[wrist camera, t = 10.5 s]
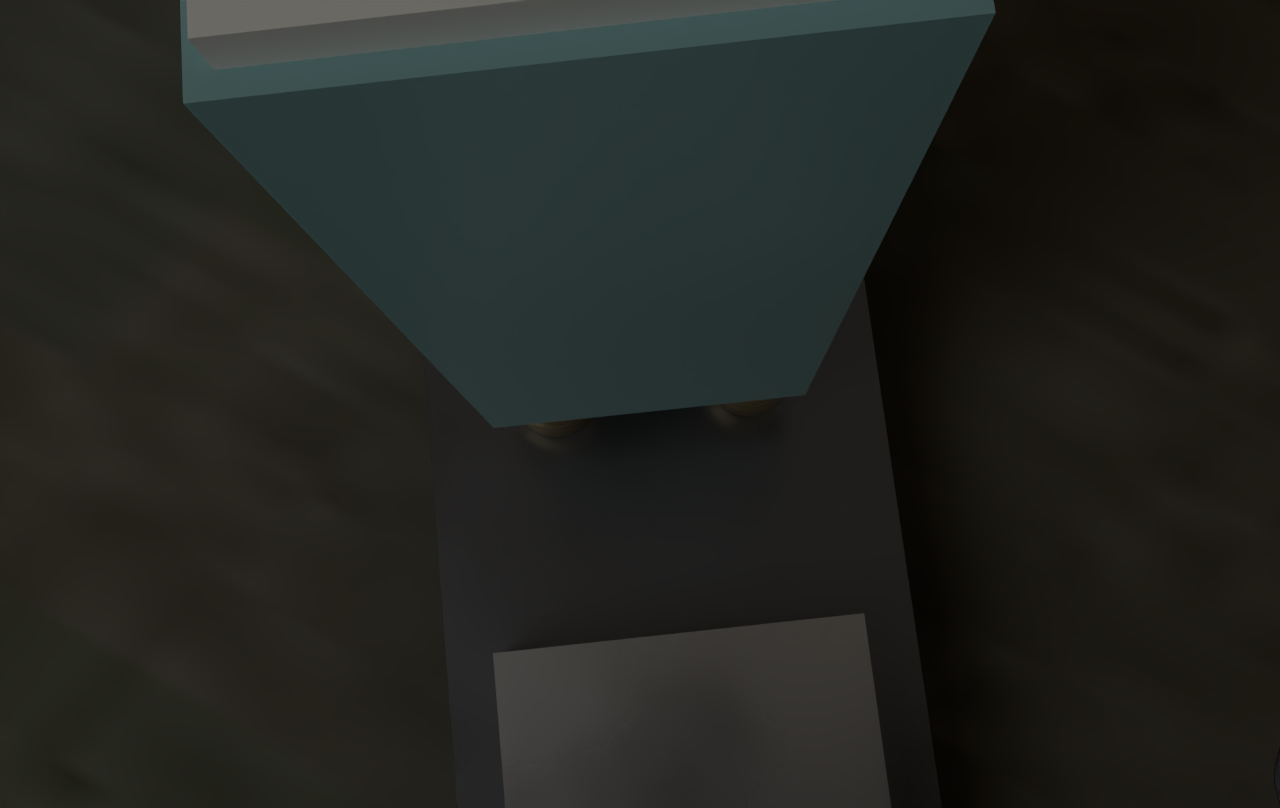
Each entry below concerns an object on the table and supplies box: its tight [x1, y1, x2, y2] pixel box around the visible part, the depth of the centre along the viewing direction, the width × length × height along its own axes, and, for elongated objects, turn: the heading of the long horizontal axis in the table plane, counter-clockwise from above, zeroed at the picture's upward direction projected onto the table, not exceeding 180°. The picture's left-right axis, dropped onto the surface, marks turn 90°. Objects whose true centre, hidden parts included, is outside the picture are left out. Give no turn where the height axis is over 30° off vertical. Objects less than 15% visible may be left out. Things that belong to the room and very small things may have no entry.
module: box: [180, 0, 996, 428], centre depth 13 cm, size 5×5×12 cm
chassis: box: [424, 278, 942, 808], centre depth 21 cm, size 16×8×4 cm, turn 6°
